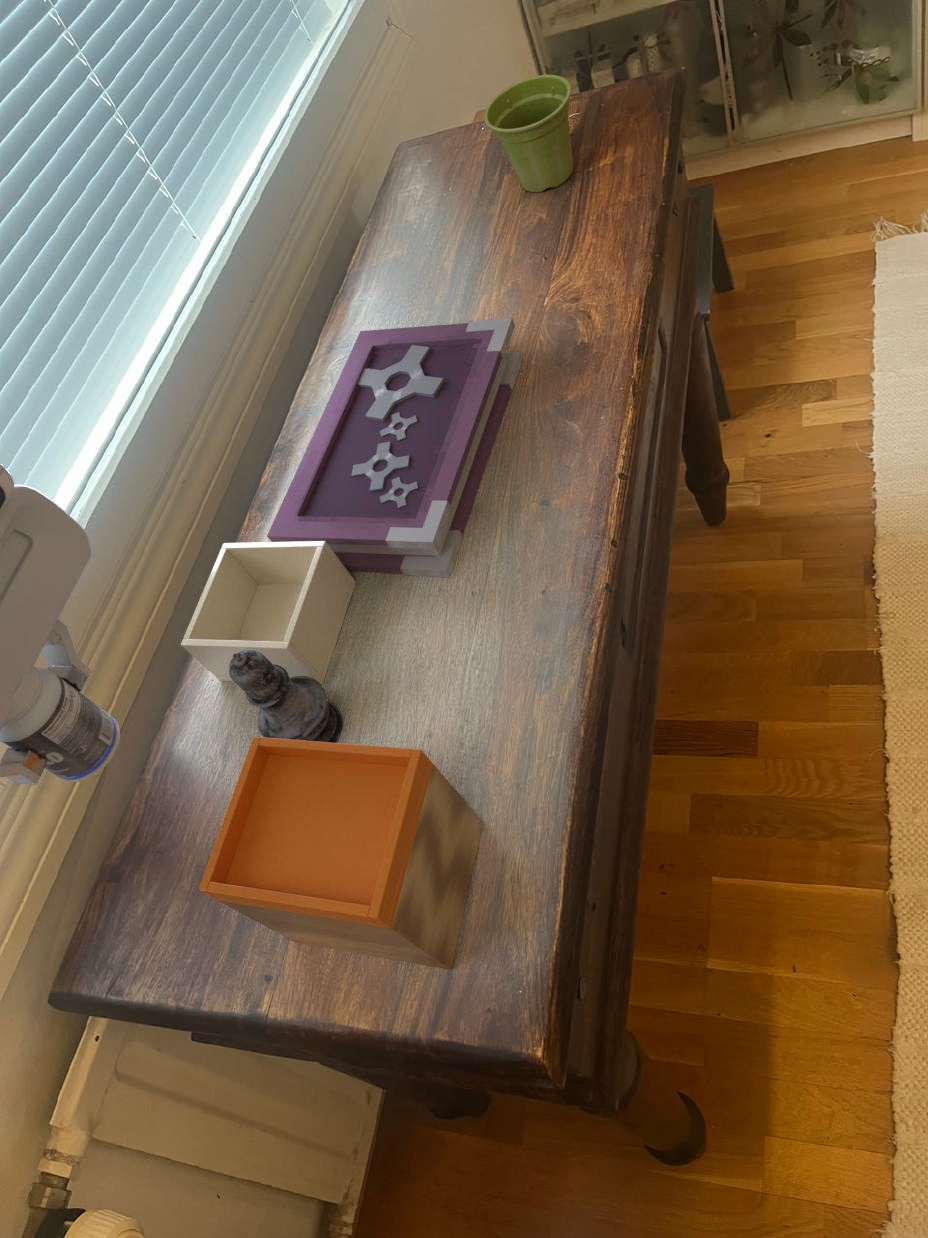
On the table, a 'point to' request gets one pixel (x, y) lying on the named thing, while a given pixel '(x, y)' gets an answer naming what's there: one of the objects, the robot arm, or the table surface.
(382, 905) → the amber tray
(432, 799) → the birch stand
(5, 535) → the robot arm
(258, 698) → the chess bishop
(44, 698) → the pill bottle
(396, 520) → the book
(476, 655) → the table surface
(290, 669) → the cream bin
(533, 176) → the plant pot
